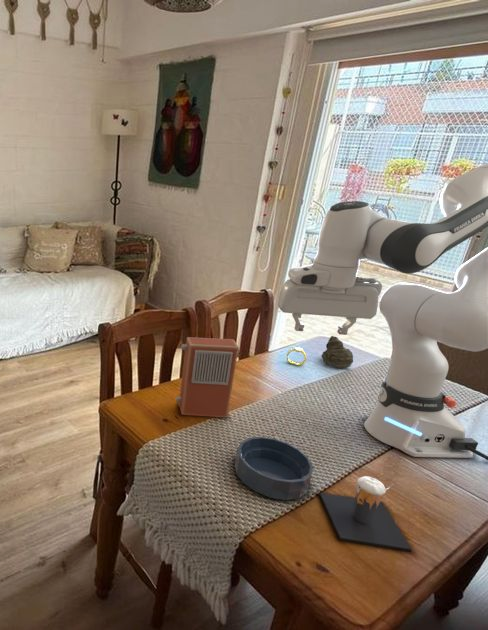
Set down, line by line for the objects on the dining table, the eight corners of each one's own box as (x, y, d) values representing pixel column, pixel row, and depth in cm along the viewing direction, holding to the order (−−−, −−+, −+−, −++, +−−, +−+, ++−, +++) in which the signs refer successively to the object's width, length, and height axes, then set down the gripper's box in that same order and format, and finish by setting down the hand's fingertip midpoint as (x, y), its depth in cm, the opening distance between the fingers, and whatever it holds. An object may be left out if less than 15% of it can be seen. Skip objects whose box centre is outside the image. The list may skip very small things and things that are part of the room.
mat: (381, 503, 92) (381, 501, 92) (410, 551, 81) (411, 549, 81) (319, 494, 94) (319, 492, 94) (339, 540, 83) (340, 537, 83)
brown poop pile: (353, 342, 156) (321, 336, 159) (363, 335, 145) (329, 330, 148) (349, 373, 154) (317, 367, 157) (359, 368, 143) (324, 362, 147)
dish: (297, 459, 105) (301, 441, 103) (317, 506, 91) (322, 486, 89) (230, 450, 108) (233, 433, 106) (240, 494, 94) (244, 475, 92)
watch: (285, 363, 153) (288, 348, 151) (285, 360, 155) (289, 345, 153) (304, 367, 150) (307, 352, 148) (304, 364, 152) (308, 349, 150)
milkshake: (380, 532, 84) (394, 491, 80) (347, 520, 87) (360, 479, 83) (379, 517, 88) (393, 476, 84) (348, 505, 90) (360, 466, 87)
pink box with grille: (174, 403, 128) (226, 406, 126) (177, 416, 121) (232, 420, 120) (181, 335, 120) (237, 338, 119) (185, 345, 114) (244, 349, 112)
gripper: (377, 274, 100) (362, 330, 105) (282, 269, 104) (271, 323, 108) (391, 282, 94) (374, 341, 99) (289, 276, 98) (277, 333, 103)
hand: (320, 332), depth 104 cm, fingers open, 8 cm apart
